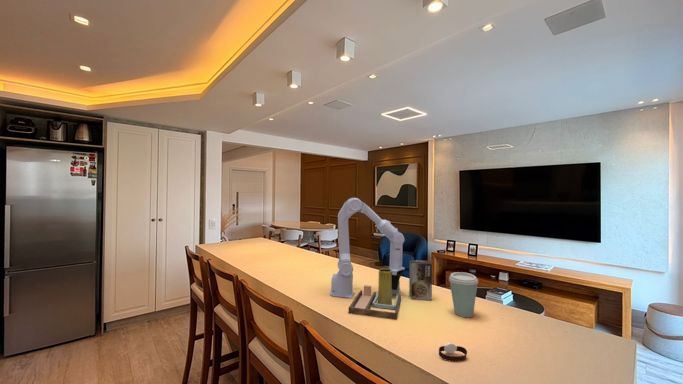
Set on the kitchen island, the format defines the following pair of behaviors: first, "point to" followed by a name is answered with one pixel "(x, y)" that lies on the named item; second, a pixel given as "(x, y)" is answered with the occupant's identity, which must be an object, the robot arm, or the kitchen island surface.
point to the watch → (451, 349)
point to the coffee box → (420, 280)
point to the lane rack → (373, 313)
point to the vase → (385, 287)
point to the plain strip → (364, 297)
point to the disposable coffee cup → (463, 293)
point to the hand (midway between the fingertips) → (395, 287)
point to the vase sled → (374, 304)
